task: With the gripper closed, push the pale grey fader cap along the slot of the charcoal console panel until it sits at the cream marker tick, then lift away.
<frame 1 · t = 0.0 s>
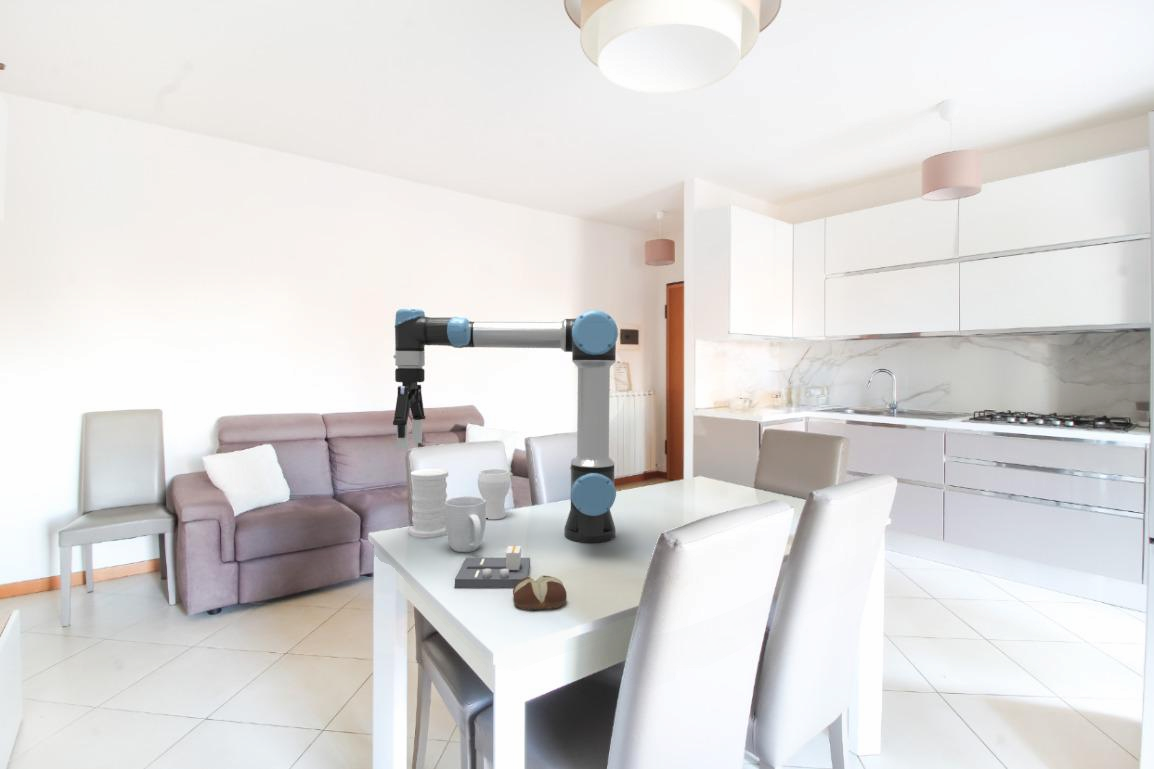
hand: (410, 446, 148), 28 cm above the table, fingers open, 13 cm apart
fader cap: (513, 557, 131), point 4 cm above the table, slide at 0.0 cm
bread: (539, 601, 118), on the table
cup: (493, 517, 183), on the table
mug: (466, 550, 150), on the table
decorative container: (429, 532, 165), on the table
console: (494, 576, 131), on the table
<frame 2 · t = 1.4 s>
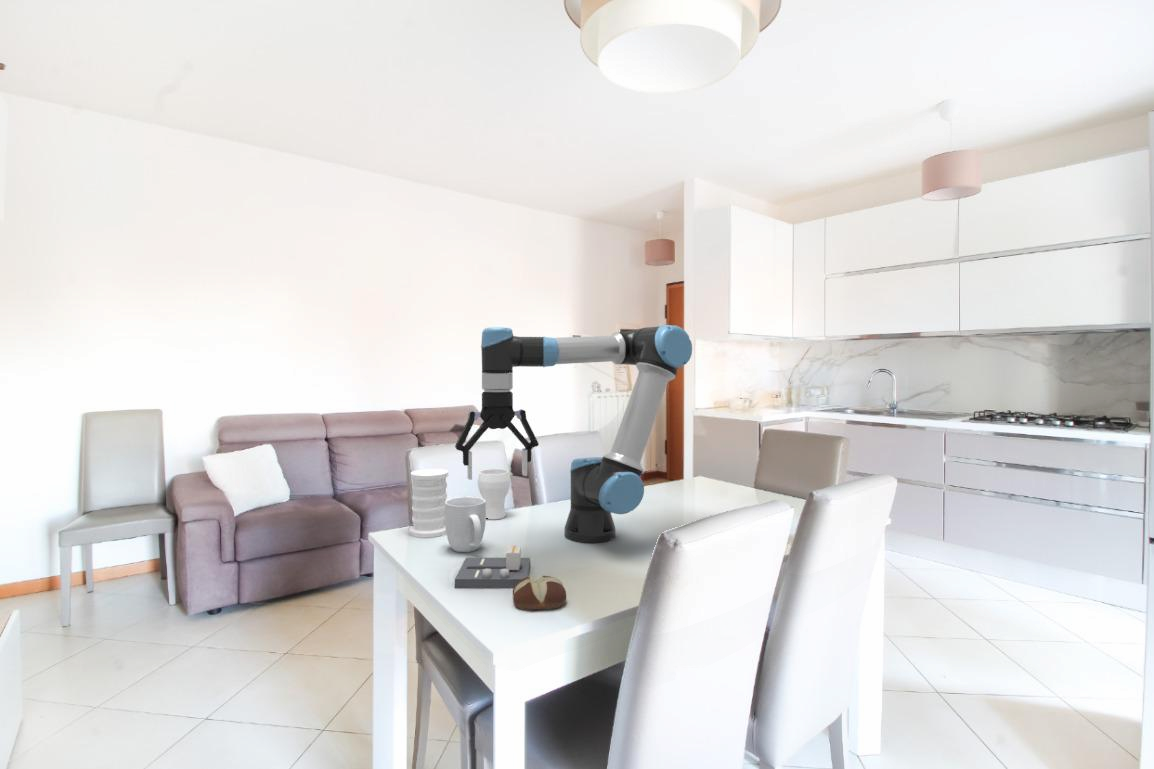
hand: (497, 477, 136), 22 cm above the table, fingers open, 13 cm apart
nothing on the table moved.
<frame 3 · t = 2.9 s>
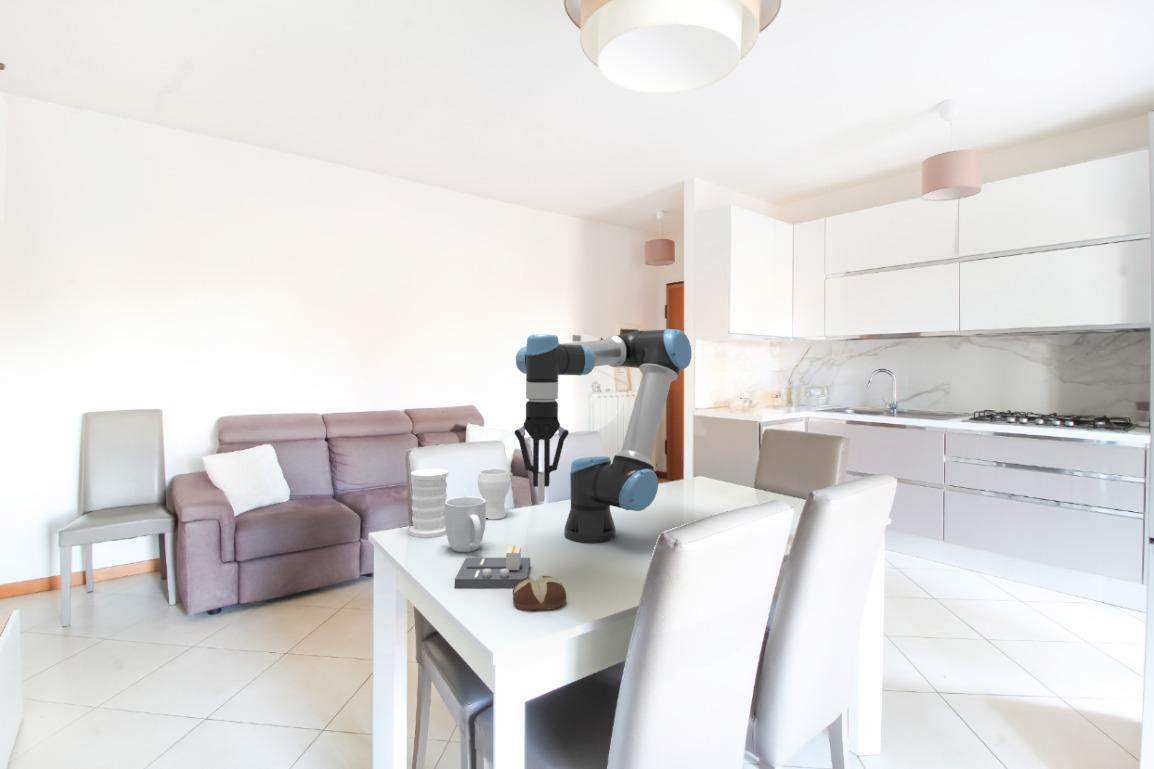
hand: (541, 499, 130), 18 cm above the table, fingers closed
nothing on the table moved.
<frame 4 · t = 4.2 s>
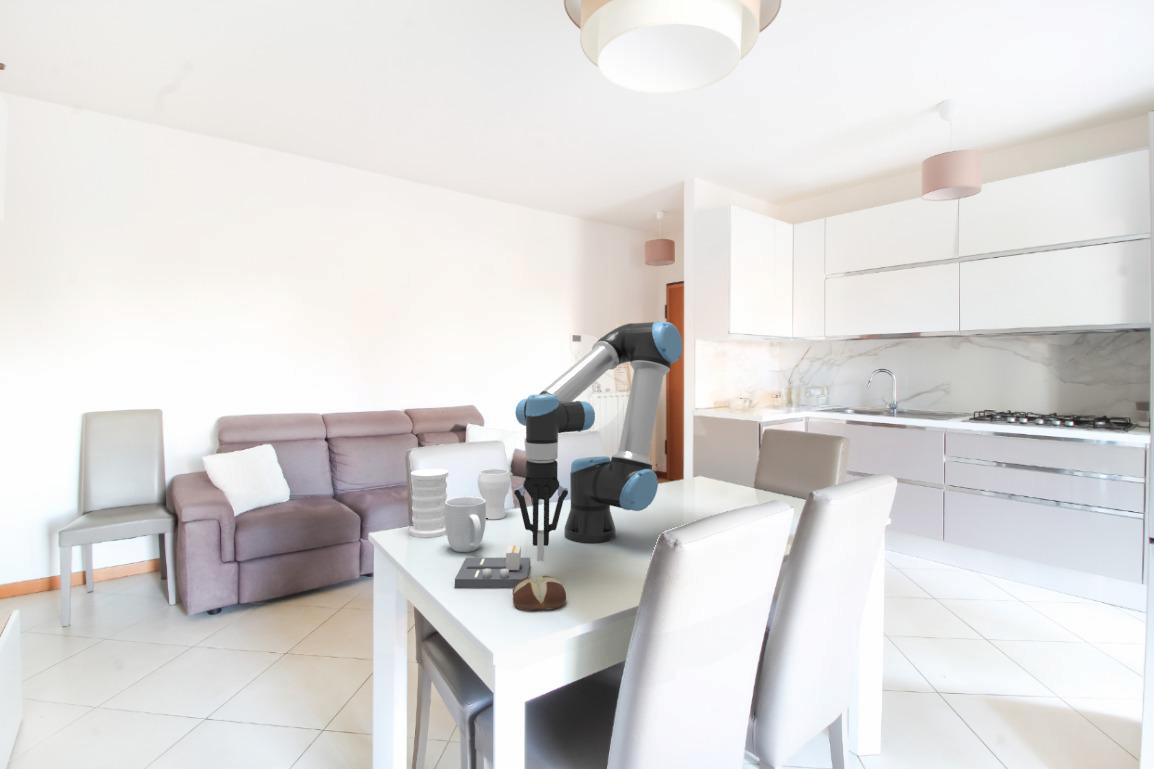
hand: (540, 558, 131), 4 cm above the table, fingers closed
nothing on the table moved.
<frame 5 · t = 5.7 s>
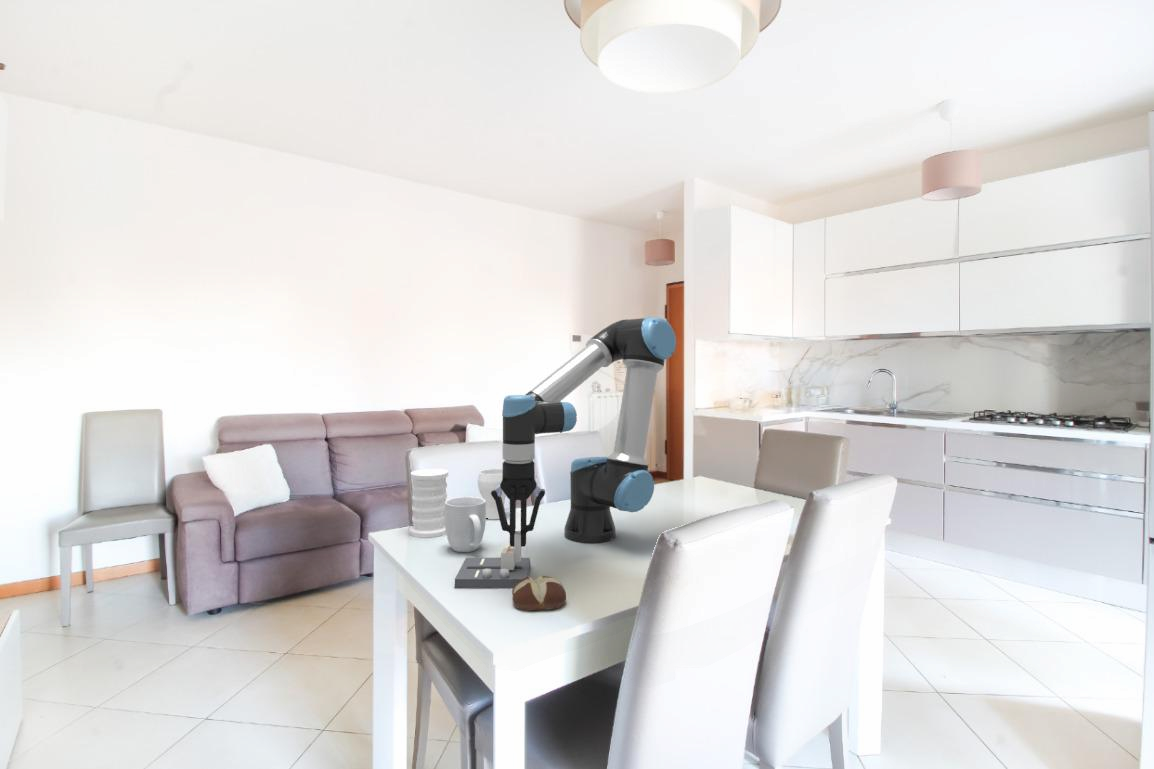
hand: (517, 559, 131), 4 cm above the table, fingers closed
fader cap: (508, 557, 131), point 4 cm above the table, slide at 1.2 cm, touching gripper
everything else where it was.
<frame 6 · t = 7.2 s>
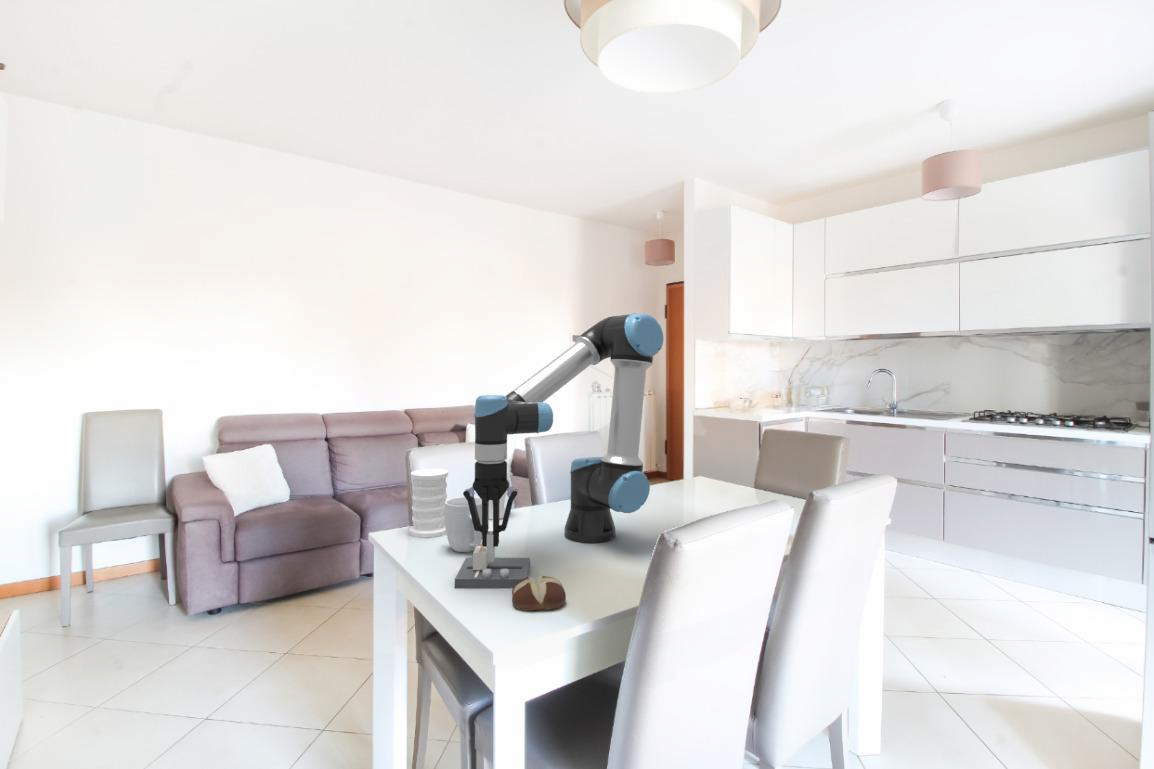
hand: (490, 559, 131), 4 cm above the table, fingers closed
fader cap: (481, 557, 131), point 4 cm above the table, slide at 7.7 cm, touching gripper
everything else where it was.
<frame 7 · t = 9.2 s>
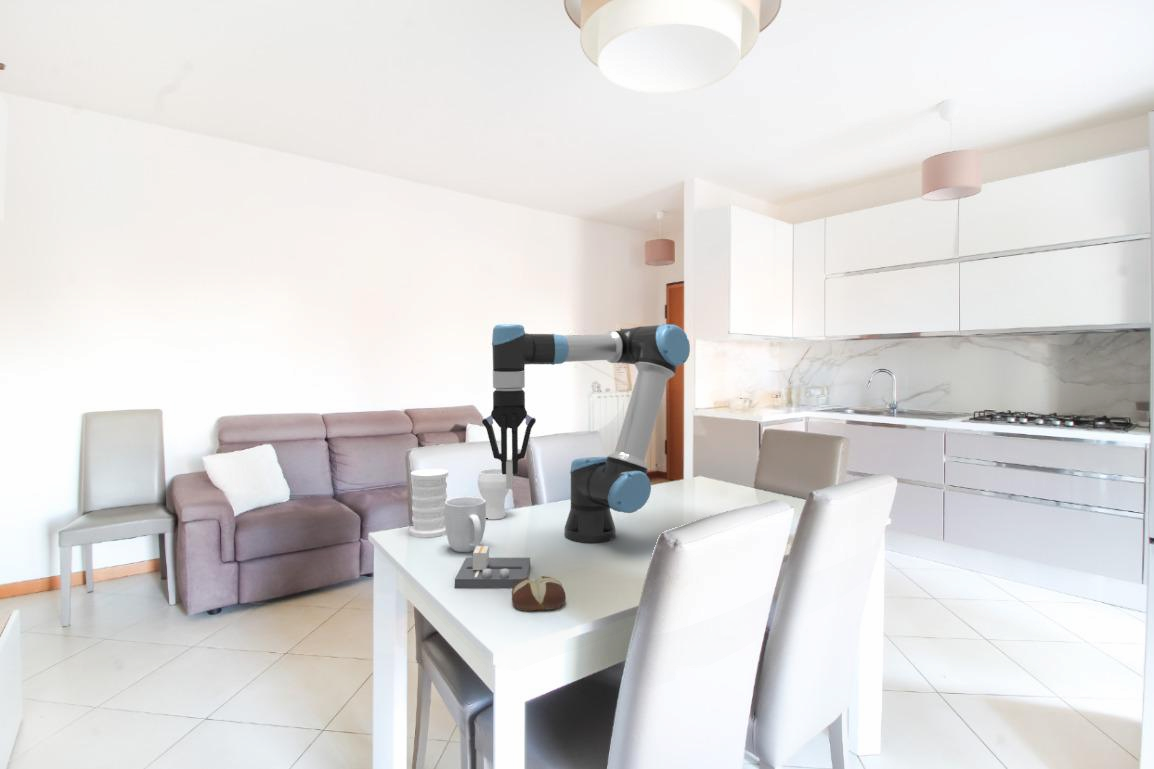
hand: (509, 487, 132), 21 cm above the table, fingers closed
fader cap: (481, 557, 131), point 4 cm above the table, slide at 7.7 cm
everything else where it was.
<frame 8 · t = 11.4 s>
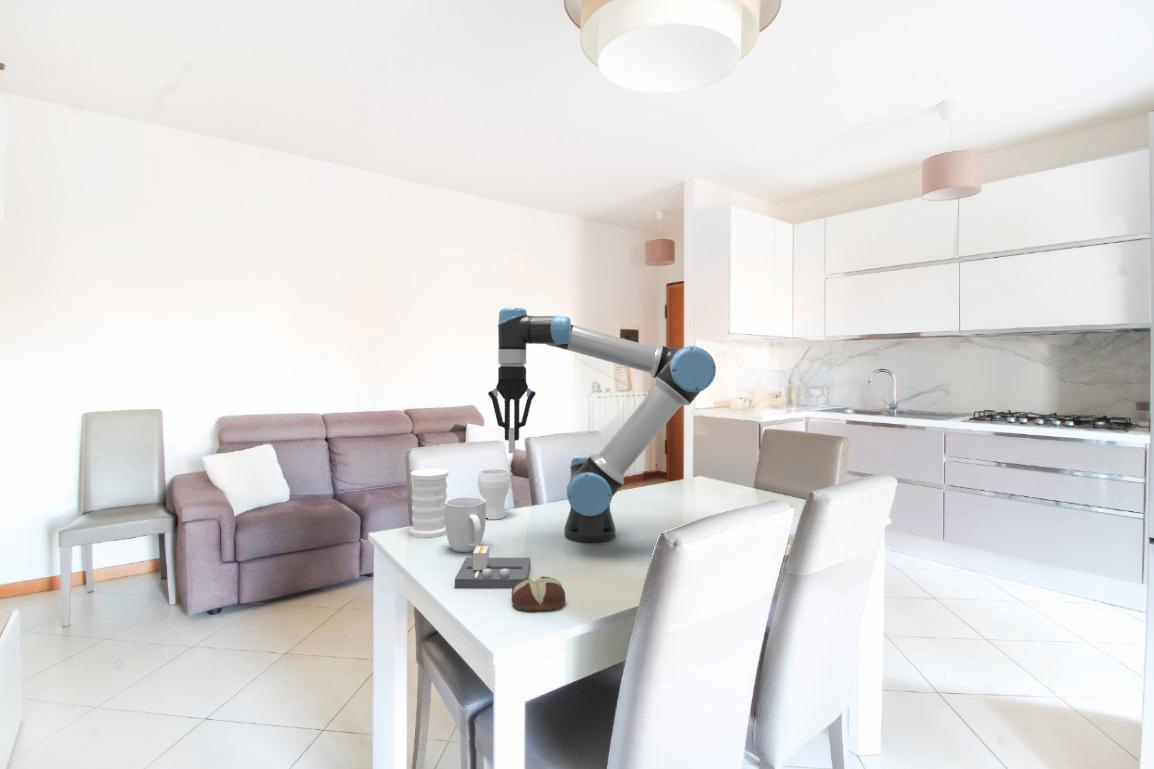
hand: (511, 452, 150), 26 cm above the table, fingers closed
nothing on the table moved.
at the end: fader cap slide at 7.7 cm; fader cap touching nothing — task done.
